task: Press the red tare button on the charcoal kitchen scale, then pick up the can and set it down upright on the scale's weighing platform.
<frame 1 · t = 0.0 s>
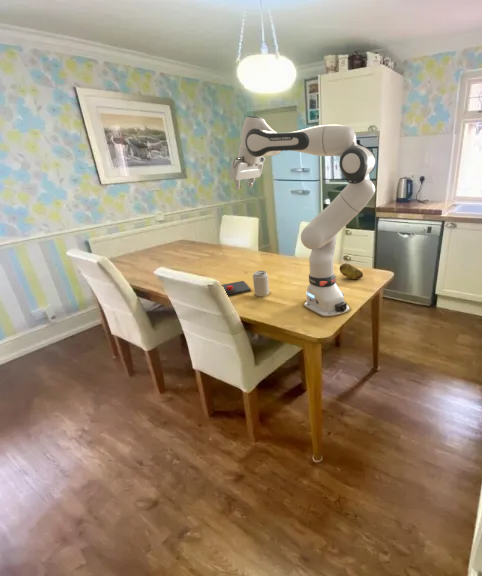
hand: (243, 187, 145), 52 cm above the table, tool tilted 20°, fingers open, 8 cm apart
tare button: (229, 287, 163), point 4 cm above the table, slide at 0.1 cm
can: (262, 294, 163), on the table
potato: (350, 278, 181), on the table
scale: (236, 289, 170), on the table
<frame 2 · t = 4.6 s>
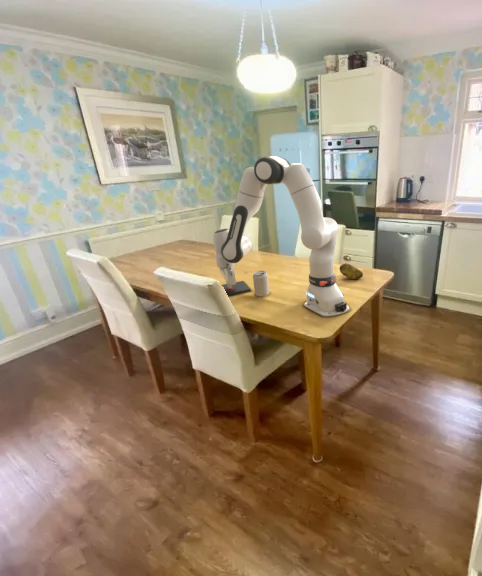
hand: (229, 287, 163), 4 cm above the table, tool pointing down, fingers closed, pressing on tare button
tare button: (230, 289, 163), point 3 cm above the table, slide at -0.7 cm, touching gripper
everything else where it was.
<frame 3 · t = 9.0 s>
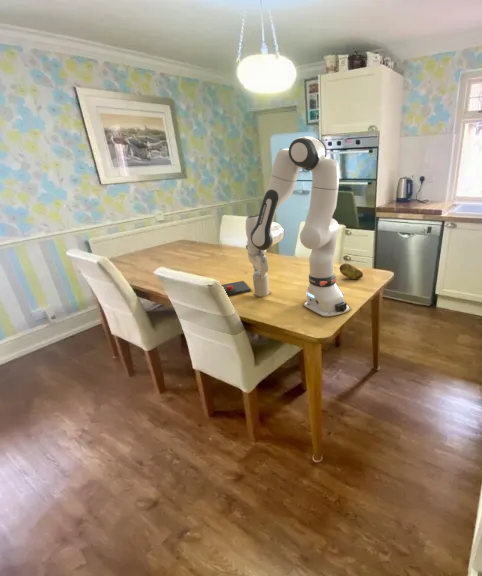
hand: (259, 275, 159), 10 cm above the table, tool pointing down, fingers open, 8 cm apart
tare button: (229, 287, 163), point 3 cm above the table, slide at 0.1 cm
can: (262, 294, 163), on the table, touching gripper
everything else where it was.
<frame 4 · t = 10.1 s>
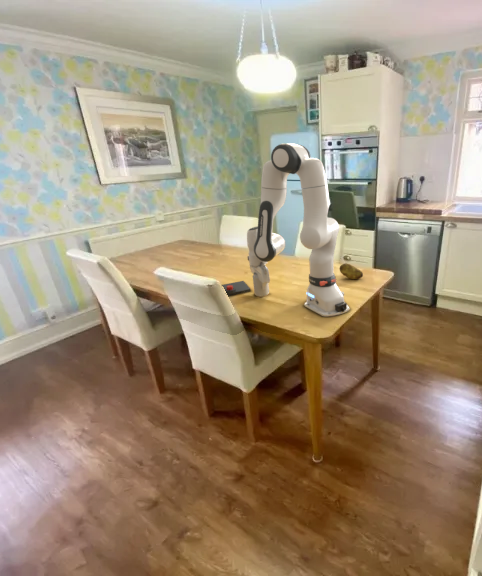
hand: (261, 286, 161), 5 cm above the table, tool pointing down, fingers closed on can, 7 cm apart
can: (262, 294, 163), on the table, touching gripper
everything else where it was.
when the fingers open (6 cm above the table, at t = 18.2 s): can stays where it is, resting on scale.
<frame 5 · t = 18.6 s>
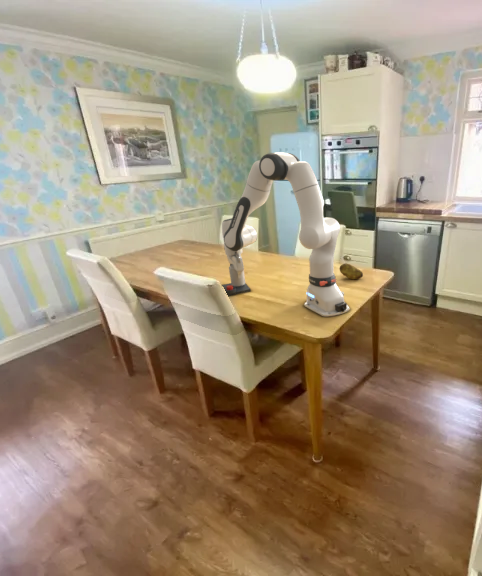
hand: (237, 275, 170), 7 cm above the table, tool pointing down, fingers open, 8 cm apart
can: (238, 285, 172), point 1 cm above the table, touching scale
everything else where it was.
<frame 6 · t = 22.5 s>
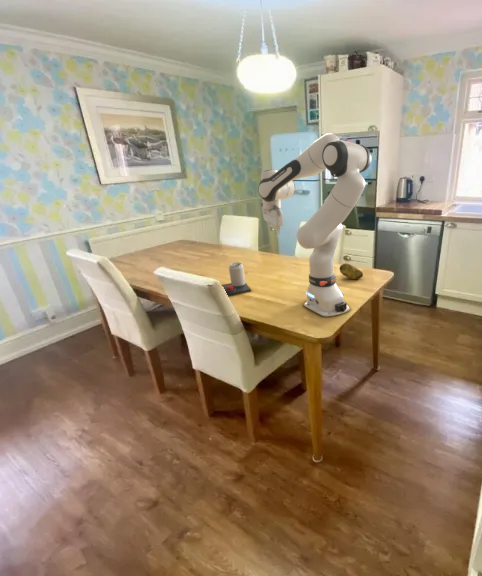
hand: (274, 232, 163), 29 cm above the table, tool pointing down, fingers open, 8 cm apart
nothing on the table moved.
at the end: tare button pushed in 0.9 cm at the most during the clip, back to where it started at the end; can 2.8 cm from the scale (horizontally); can touching scale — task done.
